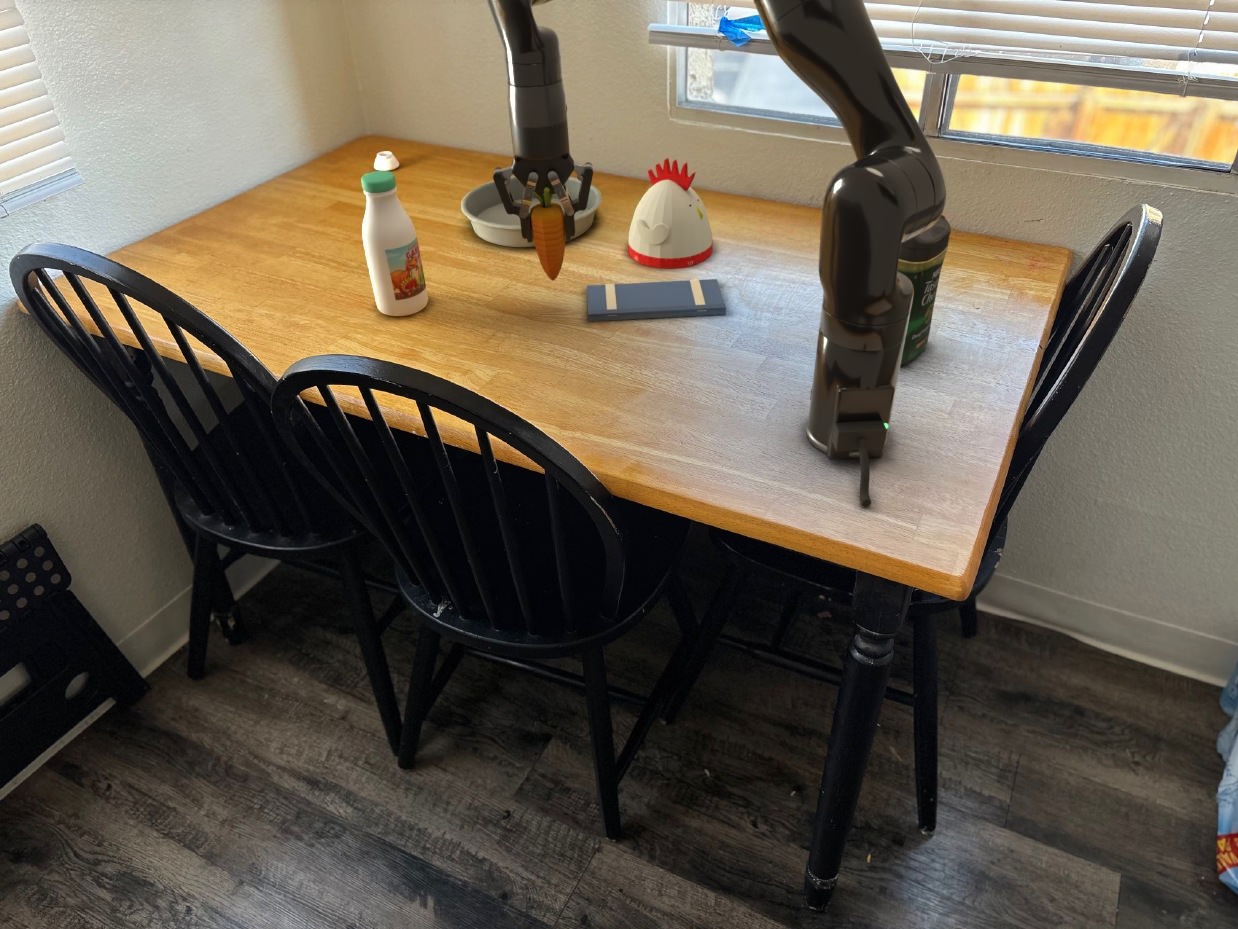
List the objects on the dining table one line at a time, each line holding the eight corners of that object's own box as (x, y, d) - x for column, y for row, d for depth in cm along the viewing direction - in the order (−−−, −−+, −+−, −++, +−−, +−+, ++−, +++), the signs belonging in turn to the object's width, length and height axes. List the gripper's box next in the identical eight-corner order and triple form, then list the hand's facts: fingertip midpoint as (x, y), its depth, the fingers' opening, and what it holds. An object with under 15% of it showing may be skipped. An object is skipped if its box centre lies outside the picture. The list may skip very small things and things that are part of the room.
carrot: (565, 288, 129) (556, 186, 120) (532, 286, 130) (521, 185, 121) (573, 273, 133) (565, 173, 124) (541, 271, 134) (531, 172, 125)
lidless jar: (403, 164, 186) (382, 162, 187) (401, 150, 184) (379, 148, 185) (391, 173, 182) (370, 171, 183) (388, 158, 180) (367, 156, 182)
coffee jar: (902, 373, 117) (928, 238, 106) (848, 354, 121) (867, 222, 110) (936, 343, 123) (963, 212, 111) (883, 326, 127) (904, 198, 115)
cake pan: (550, 263, 146) (548, 237, 144) (435, 235, 157) (431, 210, 154) (628, 210, 163) (628, 186, 160) (519, 188, 173) (517, 164, 170)
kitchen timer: (686, 275, 142) (687, 181, 132) (612, 256, 148) (609, 166, 138) (726, 242, 151) (730, 152, 141) (655, 226, 157) (655, 139, 148)
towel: (725, 314, 131) (726, 307, 130) (588, 321, 131) (588, 314, 130) (716, 283, 139) (717, 276, 138) (587, 290, 139) (586, 282, 138)
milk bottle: (379, 321, 133) (349, 188, 121) (375, 298, 139) (347, 169, 127) (431, 313, 134) (407, 181, 122) (426, 290, 140) (403, 162, 128)
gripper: (481, 127, 114) (497, 253, 125) (593, 121, 115) (600, 247, 125) (485, 110, 120) (500, 231, 131) (592, 104, 121) (599, 226, 131)
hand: (549, 238), depth 128 cm, fingers closed on carrot, 5 cm apart
